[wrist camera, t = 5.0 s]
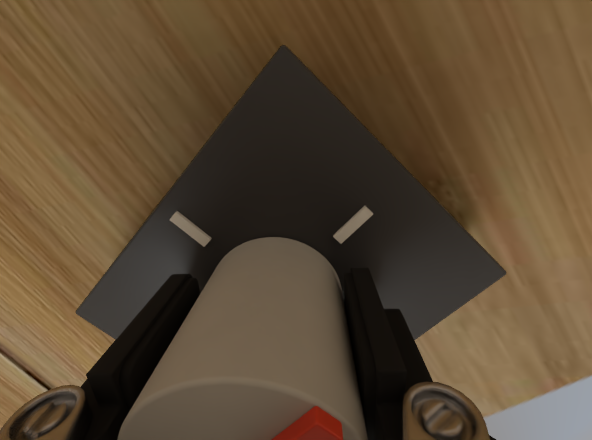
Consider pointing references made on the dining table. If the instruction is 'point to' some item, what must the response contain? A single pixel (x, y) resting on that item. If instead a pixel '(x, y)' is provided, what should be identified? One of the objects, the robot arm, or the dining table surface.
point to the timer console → (299, 208)
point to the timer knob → (257, 356)
